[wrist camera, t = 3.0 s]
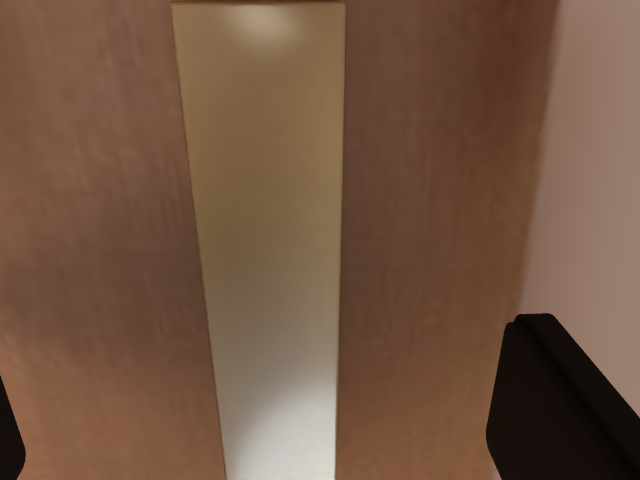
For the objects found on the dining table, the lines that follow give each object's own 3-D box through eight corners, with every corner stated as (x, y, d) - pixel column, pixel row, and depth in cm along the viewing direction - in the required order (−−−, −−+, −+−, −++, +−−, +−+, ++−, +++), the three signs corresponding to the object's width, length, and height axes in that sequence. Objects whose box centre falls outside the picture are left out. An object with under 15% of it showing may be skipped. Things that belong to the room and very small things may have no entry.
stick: (335, -1, 9) (346, 1, 7) (329, 456, 15) (335, 540, 12) (199, -1, 9) (168, 1, 7) (243, 459, 15) (232, 544, 12)
